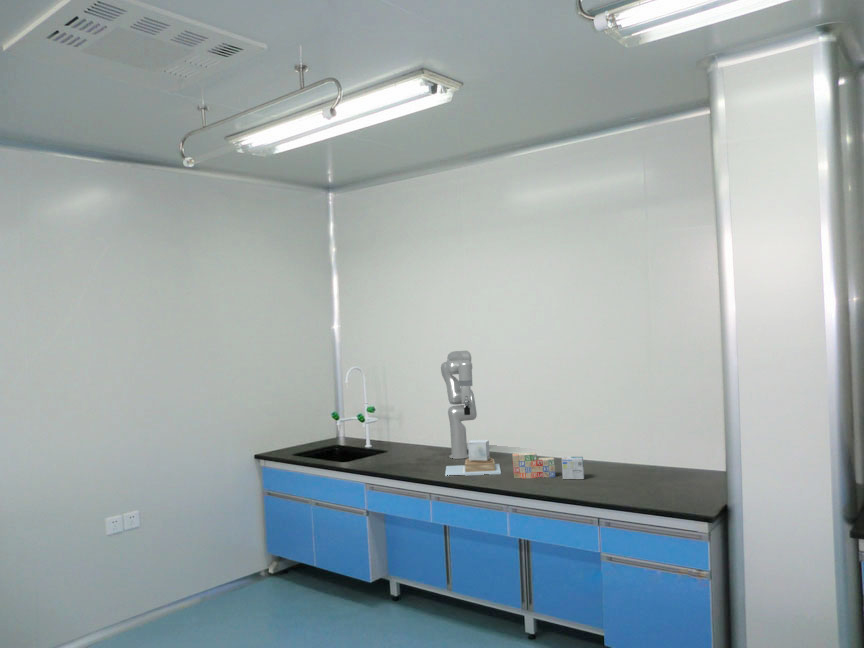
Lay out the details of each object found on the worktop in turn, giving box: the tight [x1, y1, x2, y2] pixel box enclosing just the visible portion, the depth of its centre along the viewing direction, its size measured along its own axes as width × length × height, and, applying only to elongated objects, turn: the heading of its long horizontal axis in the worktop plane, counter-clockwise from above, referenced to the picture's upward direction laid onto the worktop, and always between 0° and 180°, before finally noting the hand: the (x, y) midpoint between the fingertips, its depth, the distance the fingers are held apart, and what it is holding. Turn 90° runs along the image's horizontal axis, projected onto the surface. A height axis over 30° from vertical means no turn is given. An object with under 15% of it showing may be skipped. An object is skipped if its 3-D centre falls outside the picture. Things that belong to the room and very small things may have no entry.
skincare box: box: [467, 439, 491, 461], centre depth 378 cm, size 10×6×10 cm, turn 70°
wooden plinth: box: [464, 456, 496, 472], centre depth 378 cm, size 14×16×5 cm
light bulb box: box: [561, 455, 585, 480], centre depth 347 cm, size 11×7×11 cm, turn 76°
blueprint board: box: [444, 463, 502, 477], centre depth 378 cm, size 22×30×1 cm
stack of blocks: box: [511, 451, 556, 479], centre depth 356 cm, size 21×6×12 cm, turn 86°
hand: (467, 413), depth 387 cm, fingers open, 9 cm apart
